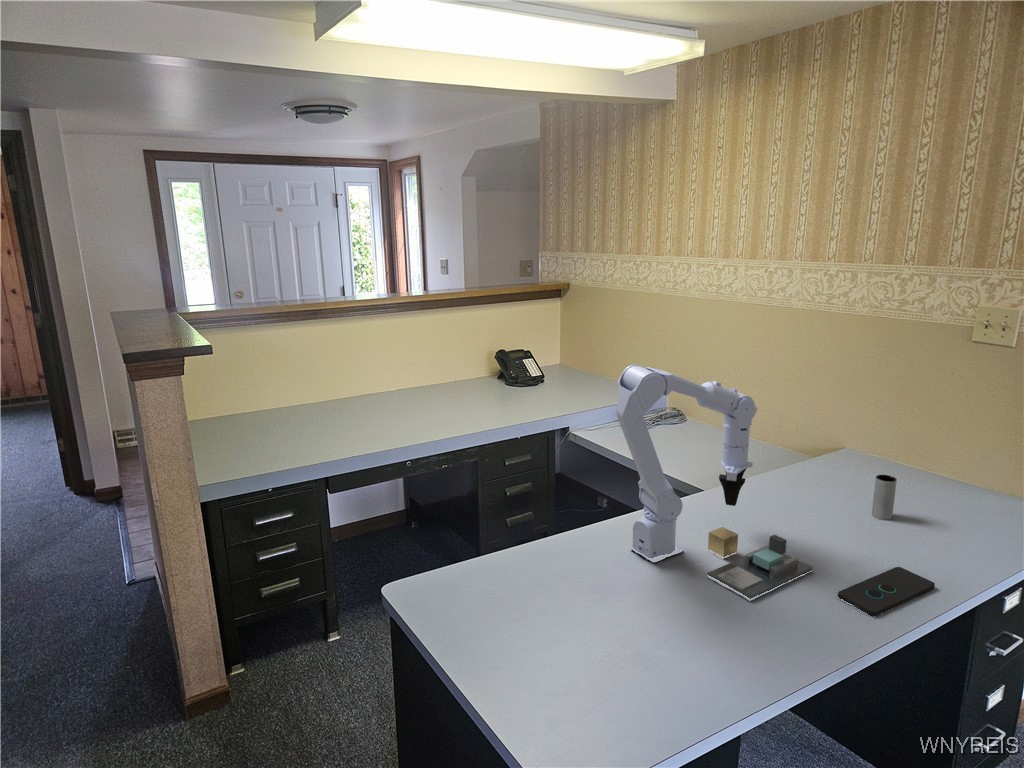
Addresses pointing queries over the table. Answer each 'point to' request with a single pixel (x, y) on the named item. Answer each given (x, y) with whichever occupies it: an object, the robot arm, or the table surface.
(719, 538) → the block
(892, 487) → the grey cylinder
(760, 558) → the teal and grey block
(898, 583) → the smart home device
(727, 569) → the press bed
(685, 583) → the table surface
